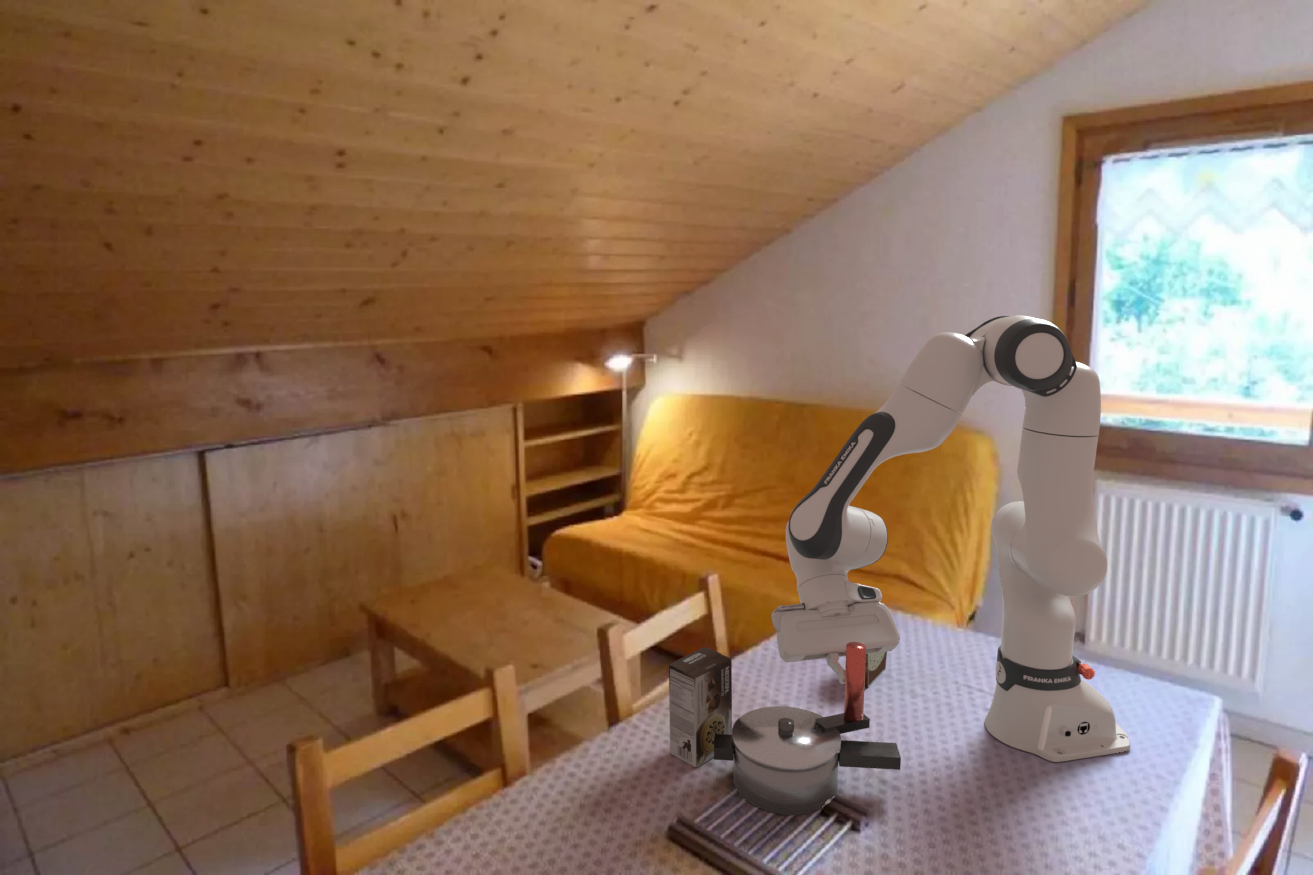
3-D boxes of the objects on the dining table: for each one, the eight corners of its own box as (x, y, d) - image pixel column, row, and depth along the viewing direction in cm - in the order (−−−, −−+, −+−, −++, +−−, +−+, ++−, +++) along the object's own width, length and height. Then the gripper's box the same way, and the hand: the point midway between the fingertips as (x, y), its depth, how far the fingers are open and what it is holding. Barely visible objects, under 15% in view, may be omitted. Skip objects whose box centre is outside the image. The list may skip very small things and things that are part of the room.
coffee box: (704, 732, 143) (704, 645, 140) (733, 746, 139) (733, 657, 135) (667, 753, 137) (667, 663, 134) (696, 769, 132) (696, 676, 129)
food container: (859, 658, 170) (861, 613, 168) (888, 666, 166) (890, 620, 164) (834, 682, 160) (836, 634, 158) (865, 691, 156) (867, 642, 154)
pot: (712, 810, 122) (712, 767, 121) (716, 749, 138) (716, 711, 136) (906, 822, 119) (908, 778, 117) (888, 758, 134) (890, 719, 133)
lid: (761, 781, 117) (762, 693, 114) (715, 722, 132) (715, 644, 130) (895, 750, 124) (899, 667, 121) (836, 698, 139) (838, 623, 137)
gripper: (773, 599, 135) (793, 683, 127) (889, 588, 139) (915, 669, 131) (764, 614, 140) (783, 695, 132) (875, 603, 144) (900, 681, 136)
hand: (849, 682), depth 132 cm, fingers closed, pressing on lid
